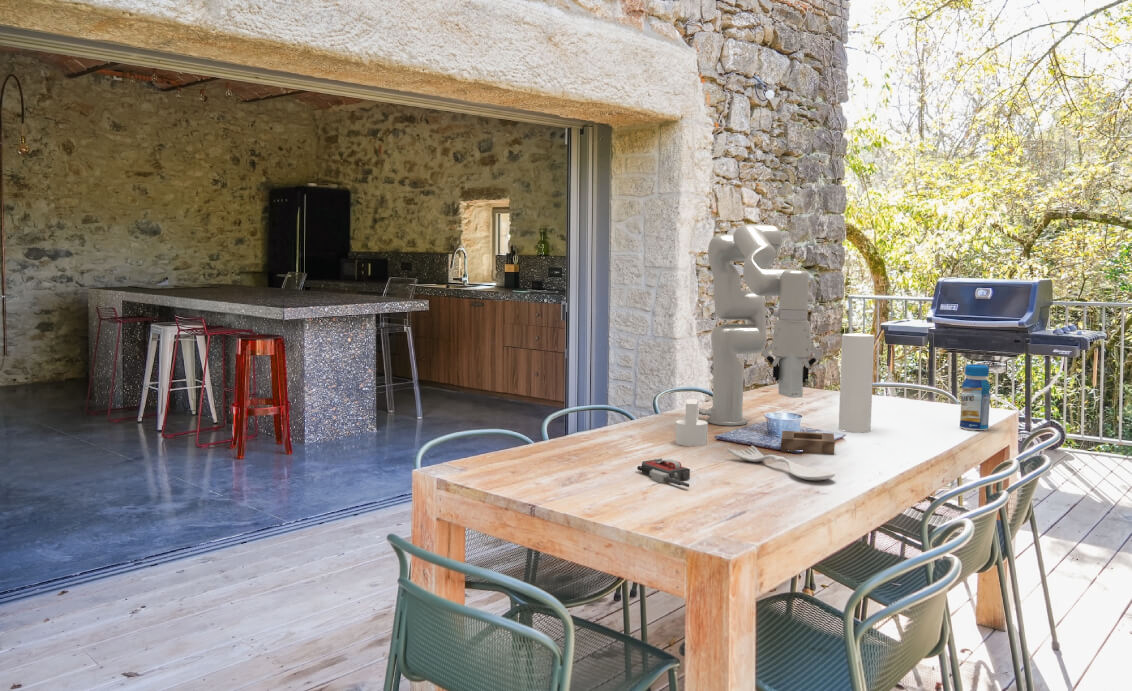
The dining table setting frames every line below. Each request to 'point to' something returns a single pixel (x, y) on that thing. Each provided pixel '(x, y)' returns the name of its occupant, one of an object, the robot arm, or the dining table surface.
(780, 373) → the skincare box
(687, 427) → the cylinder with rectangular tab
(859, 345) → the tall grey rectangular pillar
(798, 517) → the dining table surface
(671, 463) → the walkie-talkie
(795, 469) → the beige plastic utensil
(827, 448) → the socket block
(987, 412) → the beverage bottle
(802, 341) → the robot arm
